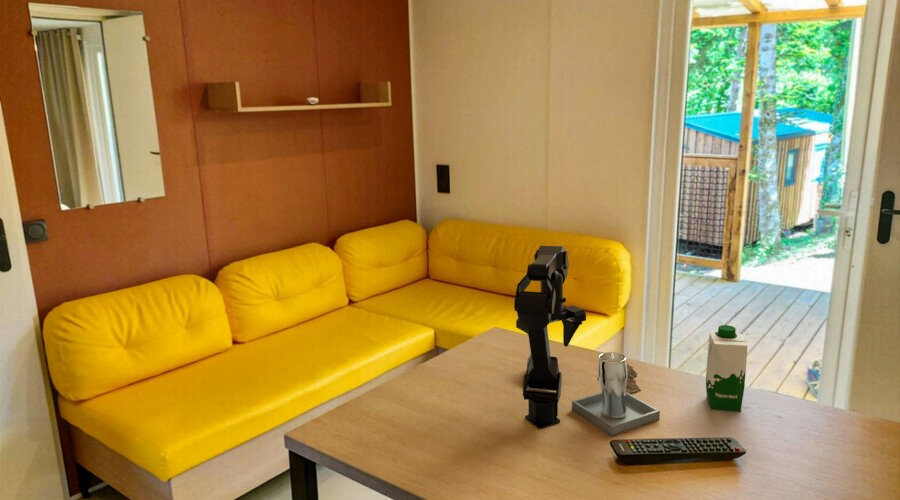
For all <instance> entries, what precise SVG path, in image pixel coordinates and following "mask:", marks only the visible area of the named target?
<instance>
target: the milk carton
mask: <svg viewBox="0 0 900 500" xmlns="http://www.w3.org/2000/svg"><path fill="white" fill-rule="evenodd" d="M736 331H737V330H736V327H734V326H732V325H728V324H727V325H726V324H723V325H722V324H721V325H719V326H718V329H717V331H716V332H712V331H711V332H709V336H708V337H709V338H708V347H707V357H706V358H707V359H706V373H705V375H706V376H705V388H706V391H705V392H706V399H707V401H708V405H709V407H710V410H711V411H722V412H735V413H741V411H742V405H743V400H744V392H745V383H746V372H747V358H748V344H747V341H746V340H745V338H744V336H743V335H742V333H736Z"/></svg>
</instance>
